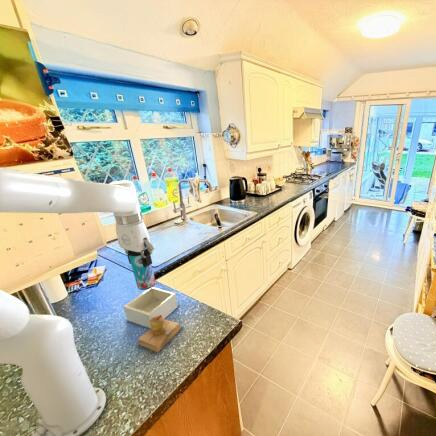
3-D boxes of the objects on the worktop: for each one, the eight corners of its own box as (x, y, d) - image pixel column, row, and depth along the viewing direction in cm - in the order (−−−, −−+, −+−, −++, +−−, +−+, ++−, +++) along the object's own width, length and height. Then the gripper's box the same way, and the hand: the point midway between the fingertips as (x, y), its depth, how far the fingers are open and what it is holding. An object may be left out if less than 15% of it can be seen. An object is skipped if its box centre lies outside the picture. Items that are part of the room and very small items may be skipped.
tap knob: (159, 336, 80) (155, 325, 78) (150, 333, 81) (146, 322, 79) (168, 328, 83) (165, 316, 82) (159, 325, 85) (156, 313, 83)
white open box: (152, 329, 87) (148, 315, 84) (127, 320, 90) (123, 306, 88) (178, 306, 98) (175, 293, 95) (154, 299, 101) (151, 286, 99)
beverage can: (140, 293, 85) (130, 257, 80) (136, 285, 89) (126, 251, 84) (158, 285, 89) (149, 251, 84) (153, 279, 93) (144, 245, 88)
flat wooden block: (158, 352, 78) (156, 345, 77) (139, 345, 80) (137, 338, 79) (180, 329, 87) (179, 323, 85) (163, 323, 89) (161, 317, 88)
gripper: (99, 218, 78) (114, 264, 85) (138, 225, 73) (150, 274, 80) (121, 211, 85) (133, 254, 91) (158, 217, 80) (167, 263, 86)
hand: (141, 263), depth 85 cm, fingers closed on beverage can, 5 cm apart
